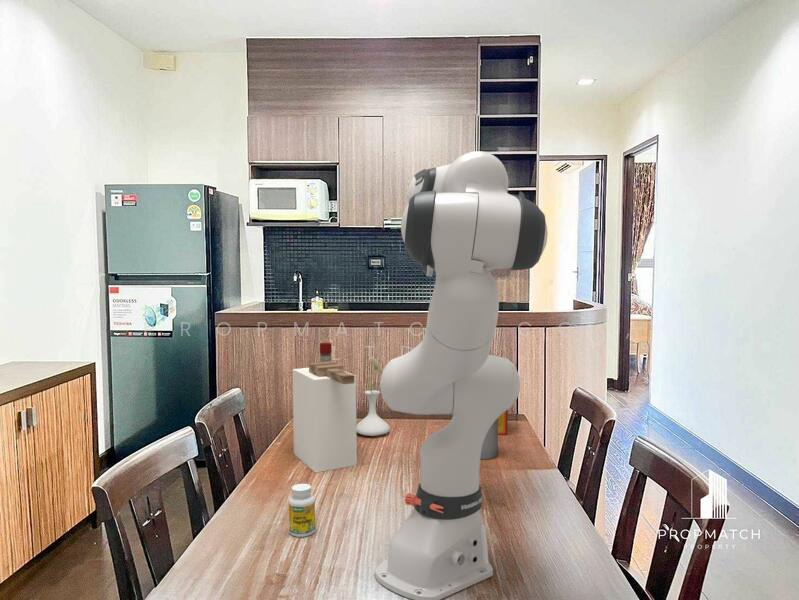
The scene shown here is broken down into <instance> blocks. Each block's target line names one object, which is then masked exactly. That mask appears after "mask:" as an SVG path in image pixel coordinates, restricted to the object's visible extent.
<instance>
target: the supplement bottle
mask: <svg viewBox="0 0 799 600" xmlns="http://www.w3.org/2000/svg"><path fill="white" fill-rule="evenodd" d="M315 499H316V498H315V497H314V495H312V486H311V485H310V484H308V483H298V484H294V485H293V486H291V496H290V497H289V499H288V521H289V522H288V527H289V528H288V529H289V530H288V531H289V534H290V535H291V536H294V537H297V538H304V537H308V536H311V535H313V534H314V533H315V531H316V500H315Z"/></svg>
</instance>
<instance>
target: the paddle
mask: <svg viewBox="0 0 799 600" xmlns="http://www.w3.org/2000/svg"><path fill="white" fill-rule="evenodd" d="M308 368H309V372H310V373H312V374H314V375H316V376H318V377H325V376H326V377H329V378H331V379H333V380H335V381H337V382H339V383H342V384H352V383H354V375H355V374H353V373H351V374H349V373H350V372H348V373H347V371H346V372H345V370H344V365H343V364H340V363H337V362H335V361H331V362H320V361H319V362H311V363H308ZM352 374H353V375H352Z"/></svg>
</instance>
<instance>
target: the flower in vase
mask: <svg viewBox="0 0 799 600" xmlns="http://www.w3.org/2000/svg"><path fill="white" fill-rule="evenodd" d="M369 360H370V362H371V365H372V367H373V370H372V372H371V374H370V377H369V378H368V381H369V388H370V390H365V391H364V394H365V396H366V398H367V402H368V412H367V415H366V416H365V417H364V418H363V419H362V420H361V421H359V422H358V423H356V434H357V433H358V434H360V435H362V436H370V437H374V436H375V437H376V436H381V435H384V434H387V433H388V432H389V431H390V429H391V427H390V425H389V424H388V423H387V422H386V421H385V420H384V419H382V418H381V417H380V416H379V414H378V413H377V407H376V405H377V399H378V397H379V394H381V390H373V387H374V386H376V385H377V382H374V383H372V376H373V373H374V371H376V372H377V374H379V375H380V376H381V375H382V372H383V370H384V368H382V365H381V363H380V362H378V360H377V359H376V357H373V356H371V357H370V358H369Z"/></svg>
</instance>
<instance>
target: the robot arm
mask: <svg viewBox="0 0 799 600" xmlns="http://www.w3.org/2000/svg"><path fill="white" fill-rule="evenodd" d="M506 169H507V168H506V167H505V165H504V164H503V162H502V161H501V160H500V159H499V158H498V157H497V156H495V155H494V154H492V153H489V152H486V151H481V150H475V151H474V150H473V151H468V152H466V153H463V154H462V155H460V156H457V158H456V159H455V160H454V161H453V162H452V163H447V164H445V165H441V166H437V167H431V168H427V169H426V168H424V169H422V170H420V171H418V172H417V173H415V174H414V176H413V178H412V179H411V181H410V183H409V185H408V190H407V199H406V200H407V205H406V207H405V209H404V211H403V214H402V216H401V221H400V223H401V224H400V232H401V238H402V240H403V243H404V249H405V251H406V252H407V253H408V255H409V256H410V258H411V259H412V260H413V261H414V262H416V263H417V264H419V266H421V267H422V268H421V271H422V272H423V273H424V274H425V275H426V277H429V278H432V277H433V274H434V272H435V282H434V287H433V292H432V295H431V298H430V301H429V306H428V309H427V310H428V311H427V318H426V326H425V332H424V336H423V339H422V341H421V342H420V343H419V344H417V345H416V346H415V347H413V349H411V350H410V351H409V352H406V353H404V354H403V355H400V356H397V357H395V358H392V359H391V360H389V361H388V363H387V364H386V365H385V367H384V368H383V372H382V375H380V380H379V389H380V394H381V396H382V399H383V401H384V402H385V404H386V406H388V408H389V409H390V410H391V411H394V412H401V413H403V414H404V413H405V414H411V415H452V418H451V420H450V421H449V423H448V424H446V425H445V427H443V428H440V429H439V430H437V431H435V432H433V433H432V434H430V435H429V436H427V437H426V439H425V440H424V441H423V443H422V444H421V447H420V451H419V454H420V455H419V457H420V458H419V460H420V461H419V462H420V473H419V474H420V479H419V480H420V482H419V483H418V486H417V488H416V489H417V490H416V493H415V495H414V494H412V493H410V492H407V493H406V494H405V497H404V503H405V505H407V506H411V507H413V509H412V510H411V512H410V514H409V515H408V516H407V518H405V520H404V522H403V523H402V524H401V526H400V528H399V529H398V530H396V531H397V532H396V533H395V534H394V535H393V537H392V539H391V540H390V541H389V542H390V543H389V546H388V553H387V559H385V560H384V561H383V562H382V563H380V564H379V565H378V566H377V567H375V569H374V572H373V573H374V575H373V576H374V577H375V579H376V580H377V582H379V583H380V585H382V586H383V587H385V588H386V589H388V590H390V591H392V592H394V593H395V594H398V595H400V596H403V597H405V598H407V599H409V600H442V599H444V598H446V597H449V596H451V595H454V594H455V593H457V592H460V591H462V590H464V589H466V588H468V587H470V586H473V585H475V584H477V583H480V582H482V581H484V580H486V579H488V578H490V577H491V578H492V577H493V576H494V569H493V566H492V564H491V563H490V561H489V556H488V555H489V549H488V540H487V529H486V525H485V523H484V520H483V517H482V513H481V509H482V505H483V493H482V486H481V484H480V474H481V473H480V472H481V471H480V469H481V460H482V459H481V450H482V445H483V442H484V439H485V437H486V434H487V432H488V431H489V429H490V427H491V426H492V424H493V423H494V422H495V421H496V419H497V418H498V417H499V416H500V415H501V414H503V413H504V412H505V411H507V410H508V411H509V409H511V408H512V407H513V405H514V404H515V403H516V401H517V399H518V397H519V394H520V391H521V380H520V379H521V378H520V375H519V371H518V370H517V368H516V366H515V365H514V363H513V362H512V361H511V360H510V359H509V358H507V357H503V356H502V357H501V356H498V355H497V356H496V355H492V354H490V352H491V348H492V343H493V341H494V336H495V333H496V328H497V324H498V321H499V320H498V318H499V311H500V298H499V297H500V296H499V287H498V283H497V281H496V279H495V277H494V276H493V275H492V273H491V271H493V270H495V269H499V270H501V269H504V270H505V269H510V271H511V272H513V271H522V270H528V269H529V270H530V269H533V268H534V267H535V266H536V264H538V263H539V261H540V259H541V256H542V255H543V253H544V251H545V248H546V246H547V242H548V236H549V235H548V233H549V232H548V226H547V222H546V215H545V213H544V212H543V211H542V210H541V208H540V207H539V206H538V205H537V204H536V203H534V202H532V201H530V200H529V199H527V198H526V197H525V193H524V192H522V191H519V193H518V194H517V195H516V194H510V193H508V192H509V191H508V190H509V177H508V173H507V170H506ZM480 459H481V460H480Z"/></svg>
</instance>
